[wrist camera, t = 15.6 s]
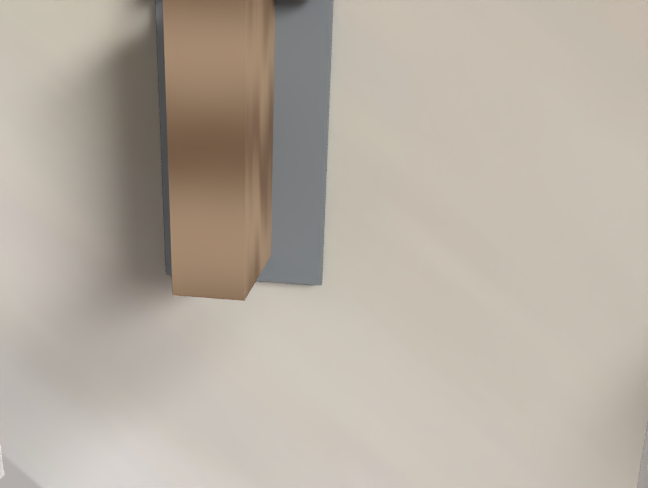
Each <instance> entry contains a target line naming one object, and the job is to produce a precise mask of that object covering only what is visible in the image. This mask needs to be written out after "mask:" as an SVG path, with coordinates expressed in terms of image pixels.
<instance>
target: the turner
mask: <svg viewBox="0 0 648 488" xmlns="http://www.w3.org/2000/svg"><path fill="white" fill-rule="evenodd" d="M163 25H164V55H165V84H166V114H167V144H168V174H169V204H170V234H171V263H172V293H173V295H179V296H192V297H205V298H218V299H230V300H243V301H244V300H245V299H246V297H247V295H248V294H249V292H250V290H251V288H252V287H253V285H254V283H255V282H256V280H257V278H258V277H259V275H260V273H261V271H262V270H263V268H264V266H265V265H266V263H267V261H268V260H269V258H270V256H271V231H272V171H273V110H274V50H275V0H163Z"/></svg>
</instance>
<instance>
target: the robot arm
mask: <svg viewBox="0 0 648 488" xmlns="http://www.w3.org/2000/svg"><path fill="white" fill-rule="evenodd" d="M4 475H5V474H4V467H3V460H2V453H1V446H0V479H1V478H2V477H3V476H4ZM637 488H648V423H647V429H646V435H645V442H644V448H643V454H642V460H641V466H640V472H639V478H638V484H637Z"/></svg>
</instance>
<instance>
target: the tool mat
mask: <svg viewBox="0 0 648 488" xmlns="http://www.w3.org/2000/svg"><path fill="white" fill-rule="evenodd" d="M155 8H156V33H157V58H158V84H159V109H160V135H161V160H162V186H163V211H164V237H165V262H166V274H169V275H172V263H171V234H170V204H169V174H168V144H167V114H166V84H165V55H164V25H163V0H155ZM332 21H333V0H275V50H274V110H273V171H272V231H271V256H270V258H269V260H268V261H267V263H266V265H265V266H264V268H263V270H262V271H261V273H260V275H259V277H258V278H257V280H256V281H266V282H279V283H293V284H307V285H321V284H322V272H323V247H324V222H325V197H326V171H327V146H328V121H329V96H330V71H331V46H332Z"/></svg>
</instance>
